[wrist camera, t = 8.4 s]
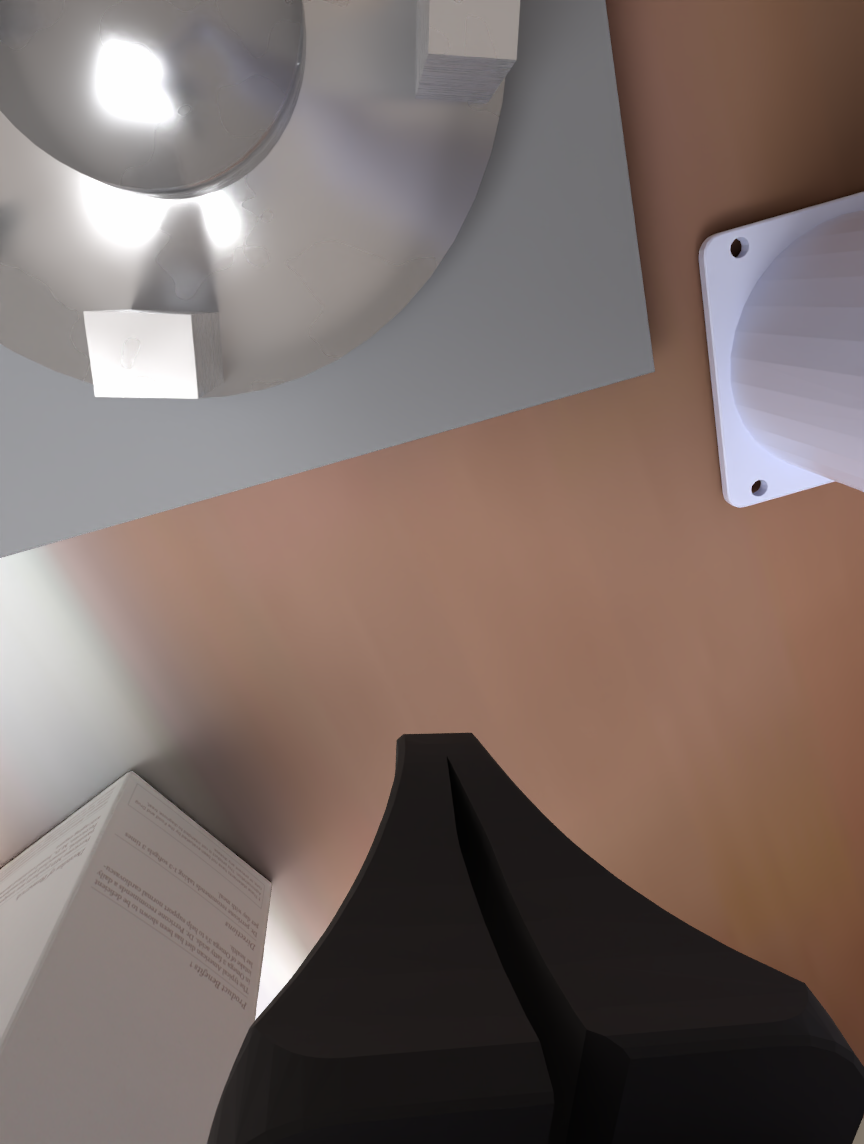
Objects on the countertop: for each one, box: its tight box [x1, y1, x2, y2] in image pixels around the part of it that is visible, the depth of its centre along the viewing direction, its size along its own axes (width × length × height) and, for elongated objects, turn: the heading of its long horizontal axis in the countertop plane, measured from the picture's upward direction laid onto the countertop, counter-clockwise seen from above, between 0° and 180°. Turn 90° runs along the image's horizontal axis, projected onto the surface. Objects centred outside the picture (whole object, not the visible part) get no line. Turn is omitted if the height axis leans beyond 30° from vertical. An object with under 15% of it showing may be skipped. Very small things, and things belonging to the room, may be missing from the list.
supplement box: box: [0, 771, 272, 1144], centre depth 20 cm, size 7×7×13 cm
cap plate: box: [0, 0, 655, 558], centre depth 16 cm, size 20×20×1 cm
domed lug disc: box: [0, 0, 520, 399], centre depth 13 cm, size 15×15×4 cm
